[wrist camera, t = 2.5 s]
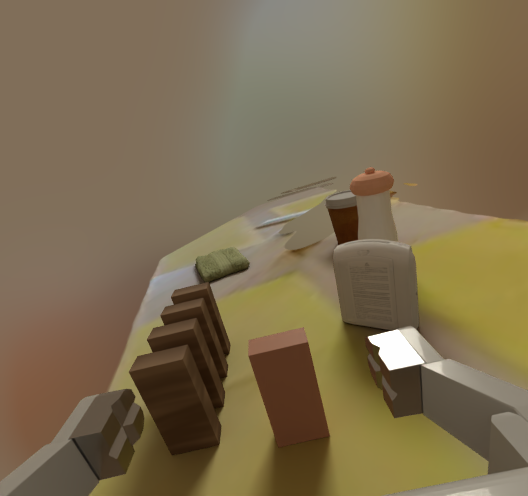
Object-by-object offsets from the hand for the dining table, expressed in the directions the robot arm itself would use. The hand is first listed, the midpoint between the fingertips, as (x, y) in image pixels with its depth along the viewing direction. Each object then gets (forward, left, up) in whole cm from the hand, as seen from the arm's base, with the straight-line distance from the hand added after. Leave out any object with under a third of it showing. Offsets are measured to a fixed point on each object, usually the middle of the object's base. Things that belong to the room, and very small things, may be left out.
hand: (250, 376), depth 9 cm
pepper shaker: (+24, -38, -19) cm, 49 cm away
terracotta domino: (+10, -6, -19) cm, 23 cm away
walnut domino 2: (+25, -2, -19) cm, 32 cm away
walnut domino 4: (+17, +3, -19) cm, 26 cm away
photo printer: (+15, -25, -19) cm, 35 cm away
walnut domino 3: (+21, 0, -19) cm, 29 cm away
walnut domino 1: (+29, -4, -19) cm, 35 cm away
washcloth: (+61, -20, -20) cm, 67 cm away
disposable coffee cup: (+39, -47, -19) cm, 64 cm away
